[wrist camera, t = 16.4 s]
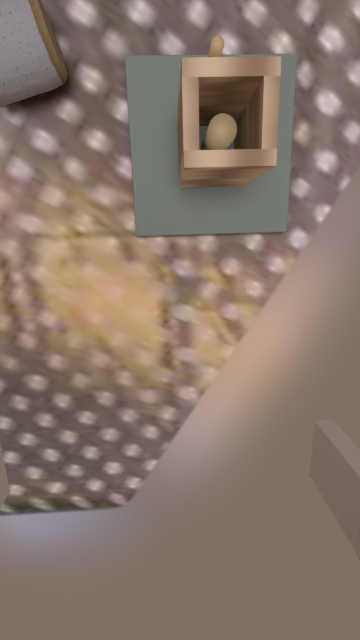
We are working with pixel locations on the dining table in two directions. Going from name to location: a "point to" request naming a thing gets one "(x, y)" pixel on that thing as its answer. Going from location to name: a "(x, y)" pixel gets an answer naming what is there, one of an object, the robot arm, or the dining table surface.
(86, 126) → the dining table surface
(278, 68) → the oak collar
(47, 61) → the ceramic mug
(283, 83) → the post stand
